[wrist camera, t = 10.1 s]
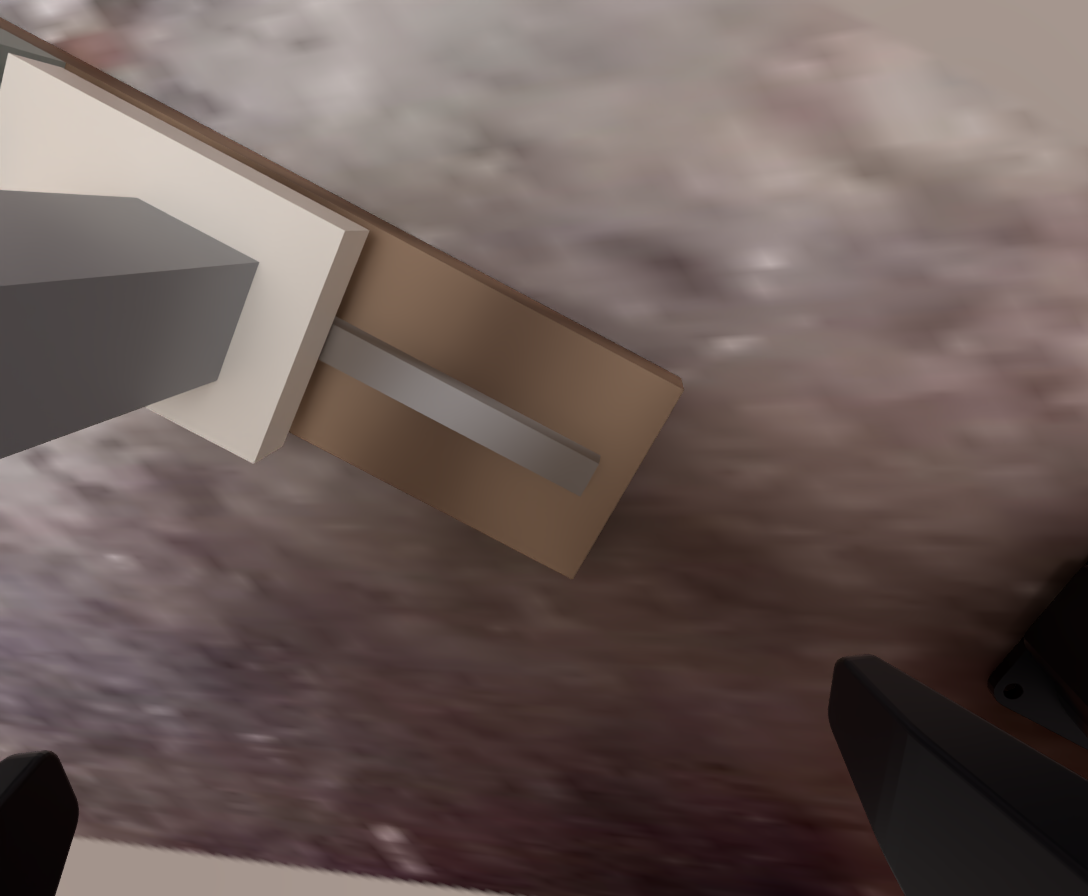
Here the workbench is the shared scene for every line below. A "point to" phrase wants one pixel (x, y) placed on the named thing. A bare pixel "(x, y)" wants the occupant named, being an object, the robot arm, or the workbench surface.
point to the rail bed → (461, 381)
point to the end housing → (22, 51)
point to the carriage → (151, 273)
